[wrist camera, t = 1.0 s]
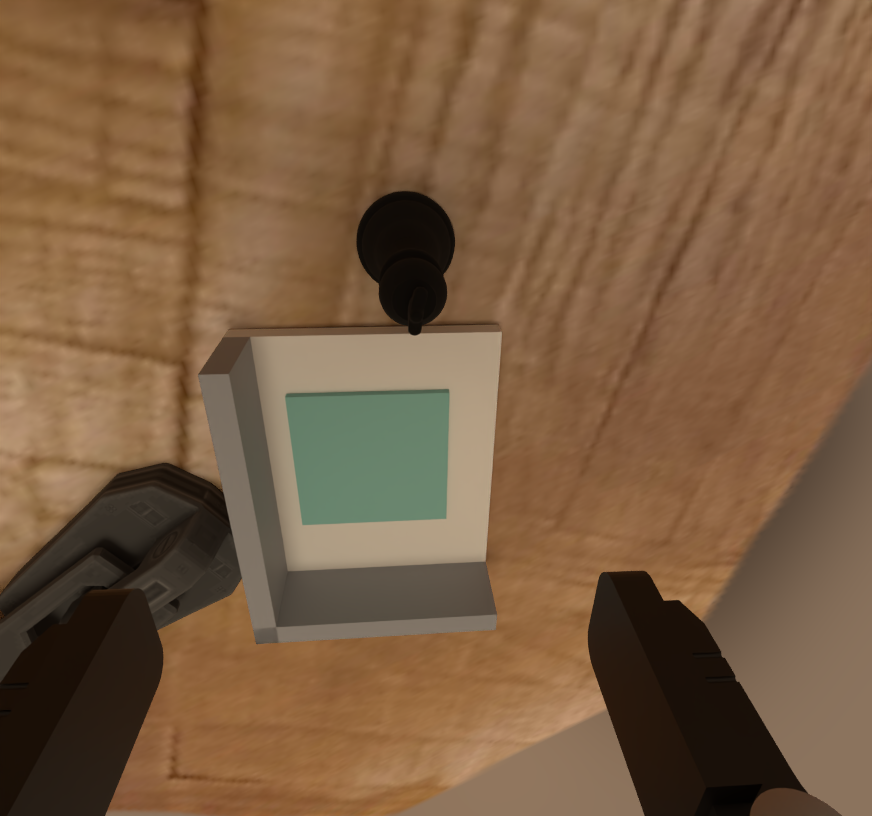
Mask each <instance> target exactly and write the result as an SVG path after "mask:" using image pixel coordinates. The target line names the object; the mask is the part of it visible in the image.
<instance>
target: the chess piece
mask: <svg viewBox="0 0 872 816" xmlns="http://www.w3.org/2000/svg"><path fill="white" fill-rule="evenodd" d="M454 248H455V237H454V231H453V227H452V224H451V222H450V220H449V218H448V216H447V214H446V213H445V211H444V210H443V209H442V208H441V207H440V206H439V205H438V204H437V203H436V202H435V201H433V200H432V199H430V198H428V197H427V196H424V195H422V194H419V193H415V192H396V193H392V194H389V195H386V196H384V197H382V198H380V199H379V200H377V201H376V202H375V203H373V204H372V205H371V206H370V207H369V209H368V210H367V211H366V213H365V214H364V216H363V218H362V220H361V222H360V224H359V227H358V232H357V251H358V255H359V258H360V261H361V263H362V265H363V267H364V269H365V270H366V272H367V273H368V274H369V275H370V276H371V278H372V279H374V280H375V281H376V282H377V283H379V299H380V303H381V305H382V307H383V309H384V311H385V312H386V314H387V315H388V316H389V317H390V318H391V319H393V320H394V321H395V322H397V323H399V324H402V325H405V326H408V332H409V333H410V334H411V335H414V336H416V335H419V334H420V333H421V329H422V325H424V324H427V323H429V322H431V321H432V320H434V319H435V318H436V317H437V316H438V315H439V314H440V313H441V311H442V309H443V308H444V305H445V303H446V299H447V286H446V282H445V280H444V277H443V274H444V273H445V272H446V270H447V269H448V267H449V265H450V263H451V260H452V258H453V254H454Z"/></svg>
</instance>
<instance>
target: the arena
mask: <svg viewBox="0 0 872 816" xmlns="http://www.w3.org/2000/svg"><path fill="white" fill-rule="evenodd" d="M501 339H502V331H501V329H500V327H499V325H447V326H422V329H421V333H420V334H419V335H416V336H414V335H411V334H410V333H409V332H408V326H393V327H338V328H283V329H229V330H228V331H227V333H226V334H225V336H224V337H223V339H222V340H221V342H220V343H219V345H218V346H217V347H216V349H215V350H214V352H213V353H212V355H211V356H210V358H209V359H208V361H207V362H206V364H205V365H204V367H203V368H202V370H201V371H200V373H199V374H198V377H199V382H200V386H201V391H202V395H203V400H204V405H205V409H206V414H207V419H208V423H209V428H210V432H211V437H212V442H213V446H214V451H215V455H216V460H217V465H218V469H219V474H220V479H221V483H222V488H223V492H224V497H225V502H226V506H227V511H228V515H229V520H230V525H231V529H232V534H233V538H234V543H235V548H236V552H237V557H238V562H239V566H240V571H241V575H242V580H243V585H244V589H245V594H246V598H247V603H248V608H249V612H250V617H251V622H252V626H253V631H254V635H255V640H256V644H264V643H281V642H297V641H314V640H331V639H348V638H364V637H381V636H398V635H415V634H432V633H448V632H465V631H482V630H496V620H497V612H496V608H495V603H494V598H493V594H492V589H491V585H490V580H489V575H488V571H487V566H486V562H485V561H486V547H487V534H488V520H489V506H490V492H491V478H492V464H493V450H494V437H495V423H496V409H497V395H498V381H499V367H500V353H501ZM439 389H449V432H448V472H447V512H446V519H431V520H409V521H386V522H364V523H341V524H319V525H302V518H301V511H300V504H299V496H298V489H297V482H296V474H295V467H294V460H293V452H292V445H291V438H290V430H289V423H288V416H287V408H286V401H285V396H286V394H290V393H328V392H365V391H402V390H439Z"/></svg>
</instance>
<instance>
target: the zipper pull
mask: <svg viewBox="0 0 872 816" xmlns="http://www.w3.org/2000/svg"><path fill="white" fill-rule="evenodd" d="M241 579H242V575H241V571H240V566H239V562H238V557H237V552H236V548H235V543H234V538H233V534H232V529H231V525H230V520H229V515H228V511H227V506H226V502H225V497H224V494H223V493H222V492H221V491H220V490H218V489H217V488H216V487H215V486H214V485H213V484H211V483H210V482H207V481H205V480H203V479H201V478H199V477H197V476H194V475H192V474H190V473H188V472H186V471H184V470H181V469H179V468H177V467H175V466H173V465H171V464H168V463H162V464H158V465H154V466H149V467H145V468H141V469H136V470H132V471H128V472H124V473H119V474H118V475H116V476H115V477H114V478H113V479H112V480H111V481H110V482H109V483H108V484H107V485H106V486H105V487H104V488H103V490H102V491H101V492H100V493H99V494H98V495H97V496H96V497H95V498H94V499H93V500H92V501H91V502H90V503H89V504H88V505H87V506H86V507H85V508H84V509H83V510H82V511H81V512H79V513H78V514H77V515H76V516H75V517H74V518H73V519H72V520H71V521H70V522H69V523H68V524H67V525H66V526H65V527H64V528H63V529H62V530H61V531H60V532H59V533H58V534H57V535H56V536H55V537H54V538H52V539H51V540H50V541H49V542H48V543H47V544H46V545H45V546H44V547H43V548H42V549H41V550H40V551H39V552H38V553H37V554H36V555H35V556H34V557H33V558H32V559H31V560H30V561H29V562H28V563H26V564H25V565H24V567H23V568H22V569H21V570H20V571H18V572H17V574H16V575H15V576H14V577H13V579H12V580H11V581H10V583H9V584H8V585H7V586H6V588H5V589H4V590H3V592H2V593H1V594H0V610H1V611H2V613H3V614H4V616H5V617H4V618H2V619H1V620H0V683H1V681H2V680H3V678H4V677H5V675H6V674H7V672H8V671H9V669H10V668H11V667H12V665H13V664H14V662H15V661H16V659H17V658H18V656H19V655H20V653H21V652H22V651H23V650H24V649H25V648H27V647H28V646H29V645H30V644H31V643H32V642H34V641H35V640H36V639H37V638H38V637H39V636H40V635H42V634H43V633H44V632H45V631H46V630H47V629H48V628H50V627H51V626H52V625H53V624H67V622H68V621H69V619H70V618H71V616H72V615H73V613H74V611H75V610H76V608H77V607H78V605H79V603H80V602H81V600H82V599H83V598H84V596H85V595H86V594H87V593H88V592H90V591H92V590H106V589H132V588H139V589H141V590H143V592H144V593H145V596H146V598H147V601H148V604H149V607H150V610H151V614H152V617H153V620H154V623H155V626H156V629H157V630H159V629H161V628H163V627H165V626H167V625H169V624H171V623H173V622H175V621H177V620H179V619H181V618H183V617H185V616H187V615H189V614H191V613H193V612H196V611H198V610H200V609H202V608H204V607H206V606H208V605H210V604H212V603H215V602H217V601H219V600H221V599H223V598H225V597H227V596H229V595H231V594H232V593H233V591H234V590H235V588H236V587H237V585H238V583H239V582H240V580H241Z"/></svg>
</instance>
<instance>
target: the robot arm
mask: <svg viewBox="0 0 872 816" xmlns="http://www.w3.org/2000/svg"><path fill="white" fill-rule="evenodd" d="M588 647H589V654H590V659H591V663H592V666H593V669H594V672H595V675H596V678H597V681H598V684H599V687H600V689H601V692H602V695H603V698H604V701H605V704H606V707H607V709H608V712H609V715H610V718H611V721H612V724H613V726H614V729H615V732H616V735H617V738H618V741H619V744H620V746H621V749H622V752H623V755H624V758H625V761H626V764H627V766H628V769H629V772H630V775H631V778H632V781H633V783H634V786H635V789H636V792H637V795H638V798H639V801H640V803H641V806H642V809H643V812H644V815H645V816H842V815H841V814H839V813H838V812H837V811H836V810H834V809H833V808H832V807H830V806H829V805H828V804H826V803H825V802H823V801H821V800H819V799H818V798H816V797H814V796H812V795H810V794H808V793H807V792H806V790H805V789H804V788H803V787H802V785H801V784H800V782H799V781H798V779H797V778H796V776H795V775H794V773H793V772H792V770H791V768H790V767H789V765H788V763H787V762H786V760H785V758H784V756H783V755H782V753H781V752H780V750H779V748H778V746H777V745H776V743H775V741H774V740H773V738H772V736H771V735H770V733H769V731H768V730H767V728H766V726H765V725H764V723H763V721H762V719H761V718H760V716H759V714H758V713H757V711H756V710H755V708H754V706H753V704H752V703H751V701H750V699H749V698H748V696H747V694H746V693H745V691H744V689H743V688H742V686H741V684H740V683H739V682H737V681H736V679H735V674H734V673H733V671H732V669H731V667H730V666H729V664H728V663H727V661H726V659H725V658H723V657H722V656H721V651H720V649H719V647H718V646H717V644H716V642H715V641H714V639H713V637H712V636H711V634H710V632H709V630H708V629H707V627H706V625H705V624H704V623H703V622H702V621H701V620H700V619H699V618H698V617H697V616H695V615H694V614H693V613H692V612H691V611H690V610H689V609H688V608H687V607H686V606H685V605H683V604H682V603H681V602H680V601H679V600H671V601H664V600H663V599H662V597H661V595H660V593H659V591H658V589H657V588H656V586H655V584H654V582H653V580H652V578H651V577H650V575H649V574H648V573H647V572H645V571H622V572H603V573H601V575H600V577H599V580H598V585H597V589H596V594H595V599H594V604H593V609H592V614H591V619H590V623H589V629H588ZM162 668H163V648H162V644H161V641H160V638H159V635H158V632H157V629H156V626H155V623H154V620H153V617H152V614H151V610H150V607H149V604H148V601H147V598H146V596H145V593H144V592H143V590H141V589H139V588H132V589H106V590H92V591H90V592H88V593H87V594H86V595H85V596H84V598H83V599H82V600H81V602H80V603H79V605H78V607H77V608H76V610H75V611H74V613H73V615H72V616H71V618H70V619H69V621H68V622H67V624H53V625H52V626H51V627H50V628H48V629H47V630H46V631H45V632H44V633H43V634H42V635H40V636H39V637H38V638H37V639H36V640H35V641H34V642H32V643H31V644H30V645H29V646H28V647H27V648H25V649H24V650H23V651H22V652H21V653H20V655H19V656H18V658H17V659H16V661H15V662H14V664H13V665H12V667H11V668H10V669H9V671H8V672H7V674H6V675H5V677H4V678H3V680H2V681H1V683H0V816H105V814H106V812H107V810H108V807H109V805H110V802H111V800H112V797H113V795H114V792H115V790H116V788H117V785H118V783H119V780H120V778H121V775H122V773H123V771H124V768H125V766H126V763H127V761H128V758H129V756H130V753H131V751H132V749H133V746H134V744H135V741H136V739H137V736H138V734H139V731H140V729H141V727H142V724H143V722H144V719H145V717H146V714H147V712H148V710H149V707H150V705H151V702H152V700H153V697H154V695H155V692H156V690H157V688H158V685H159V682H160V678H161V674H162Z"/></svg>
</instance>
